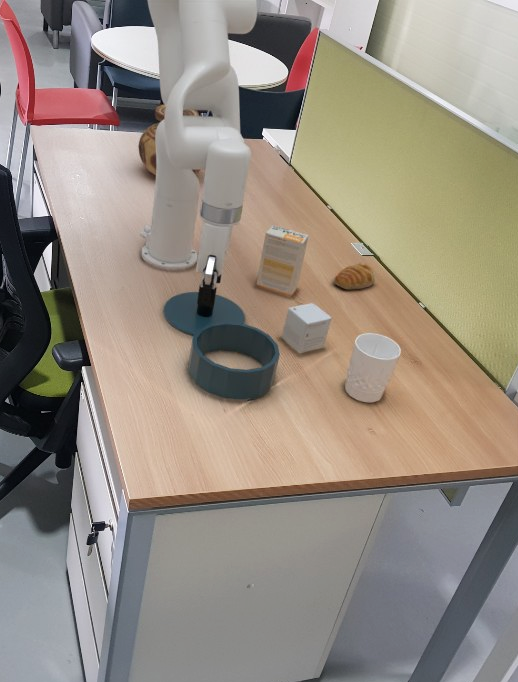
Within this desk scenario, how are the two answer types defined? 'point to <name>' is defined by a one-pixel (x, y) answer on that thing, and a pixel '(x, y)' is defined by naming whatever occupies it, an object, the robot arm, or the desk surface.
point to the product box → (306, 327)
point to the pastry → (355, 277)
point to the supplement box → (282, 260)
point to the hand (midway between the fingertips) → (208, 293)
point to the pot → (229, 379)
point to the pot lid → (200, 312)
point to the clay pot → (148, 140)
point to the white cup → (371, 366)
